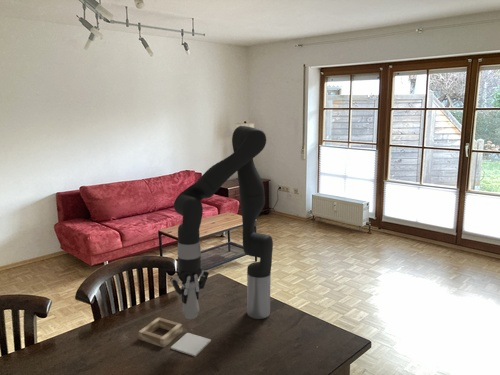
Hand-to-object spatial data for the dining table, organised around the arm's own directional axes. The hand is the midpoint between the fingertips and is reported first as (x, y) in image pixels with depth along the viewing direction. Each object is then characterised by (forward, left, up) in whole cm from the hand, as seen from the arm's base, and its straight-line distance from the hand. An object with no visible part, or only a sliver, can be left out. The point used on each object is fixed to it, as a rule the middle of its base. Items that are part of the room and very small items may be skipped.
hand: (190, 302), depth 135 cm
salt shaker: (0, 0, -5) cm, 5 cm away
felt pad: (0, 0, -16) cm, 16 cm away
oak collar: (0, -13, -16) cm, 21 cm away
